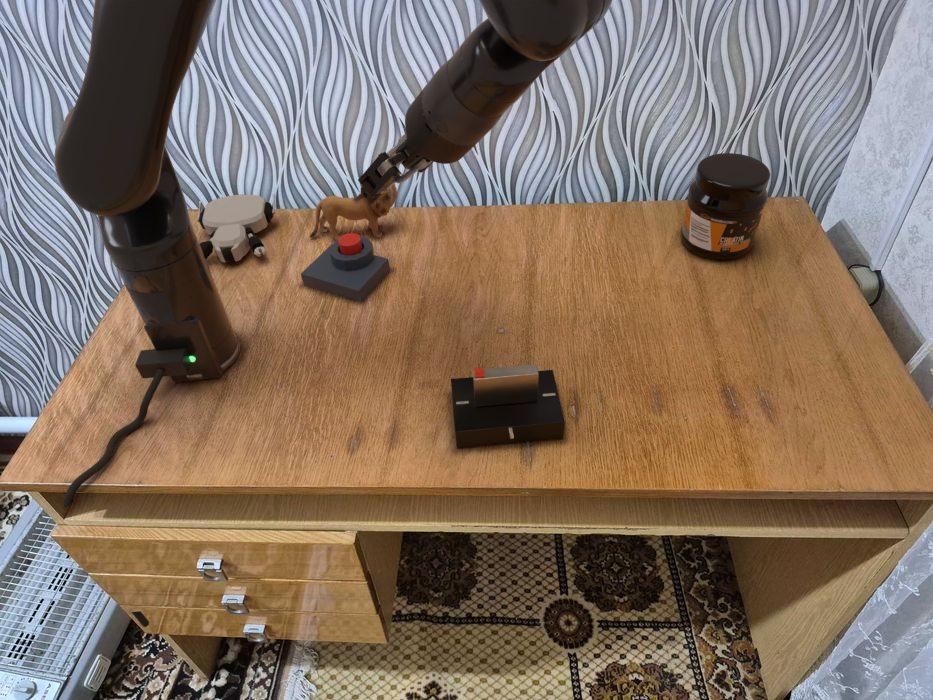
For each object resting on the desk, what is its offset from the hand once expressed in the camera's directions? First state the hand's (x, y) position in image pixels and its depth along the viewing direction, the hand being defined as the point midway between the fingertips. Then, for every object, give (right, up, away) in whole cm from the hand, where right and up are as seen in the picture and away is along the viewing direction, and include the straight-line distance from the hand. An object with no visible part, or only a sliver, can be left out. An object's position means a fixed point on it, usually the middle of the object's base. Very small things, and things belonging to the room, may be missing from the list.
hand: (392, 180), depth 80 cm
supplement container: (+46, -4, +19) cm, 50 cm away
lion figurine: (-8, -2, +26) cm, 28 cm away
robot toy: (-27, -3, +26) cm, 38 cm away
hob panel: (+14, -28, -3) cm, 31 cm away
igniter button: (-8, -6, +16) cm, 19 cm away
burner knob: (+13, -26, -5) cm, 30 cm away
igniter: (-9, -10, +17) cm, 22 cm away
